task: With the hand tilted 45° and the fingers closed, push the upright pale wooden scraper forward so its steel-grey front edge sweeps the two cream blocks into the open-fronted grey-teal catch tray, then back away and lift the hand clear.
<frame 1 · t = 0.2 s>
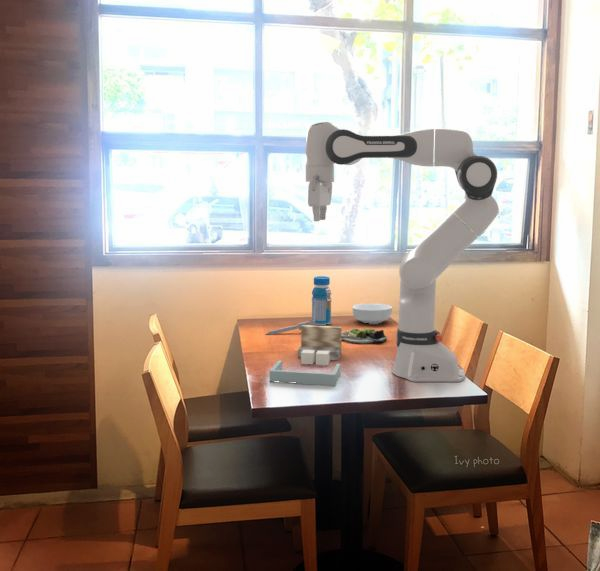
hand: (319, 220, 203), 48 cm above the table, tool pointing down, fingers open, 8 cm apart
cream block 2: (322, 363, 216), on the table
beverage bottle: (321, 324, 276), on the table
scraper: (319, 356, 225), on the table
cereal bowl: (371, 322, 278), on the table
catch tray: (305, 378, 200), on the table
salad plate: (365, 340, 249), on the table
caliper: (290, 334, 258), on the table
cream block 1: (307, 363, 217), on the table
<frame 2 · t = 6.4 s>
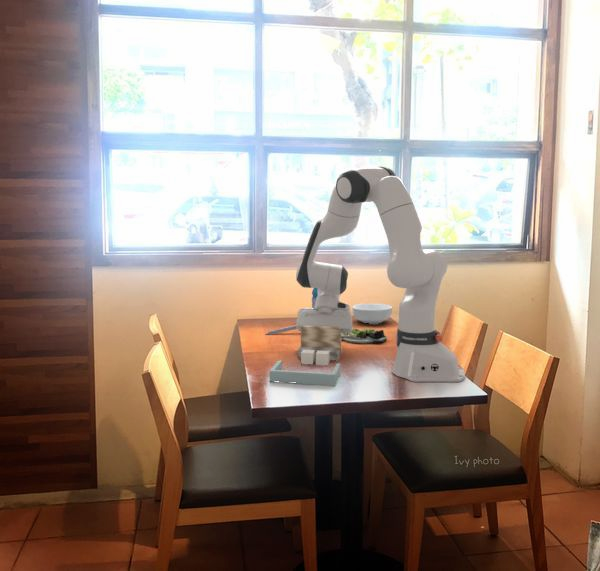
hand: (322, 341, 228), 4 cm above the table, tool tilted 45°, fingers closed, pressing on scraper
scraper: (319, 356, 224), on the table, touching gripper
everything else where it was.
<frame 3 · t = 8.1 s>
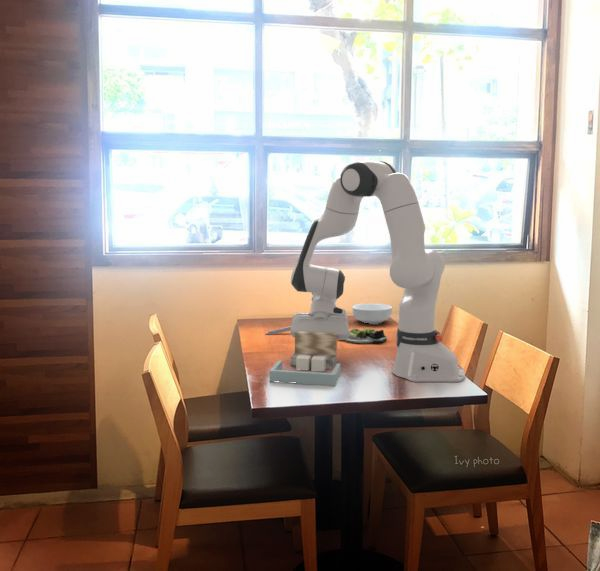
hand: (317, 348, 219), 4 cm above the table, tool tilted 45°, fingers closed, pressing on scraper
cream block 2: (318, 369, 209), on the table
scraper: (314, 364, 215), on the table, touching cream block 1, gripper
cream block 1: (303, 368, 210), on the table, touching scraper
everything else where it was.
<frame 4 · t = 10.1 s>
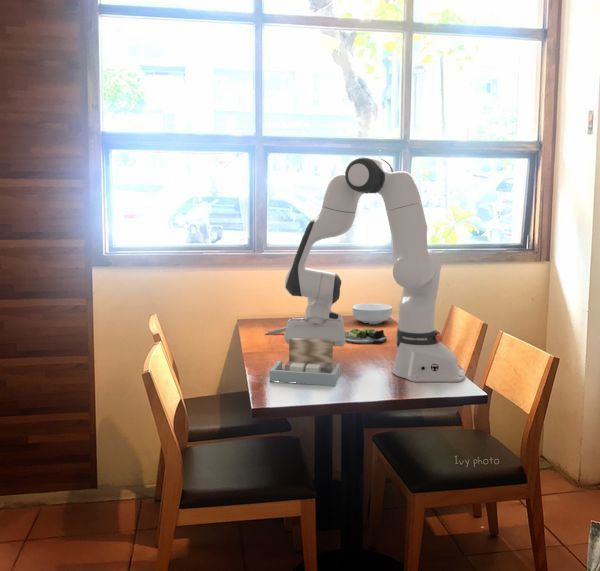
hand: (312, 355, 210), 4 cm above the table, tool tilted 45°, fingers closed
cream block 2: (313, 378, 200), on the table, touching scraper
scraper: (309, 372, 206), on the table, touching cream block 2, gripper
cream block 1: (297, 377, 201), on the table
everything else where it was.
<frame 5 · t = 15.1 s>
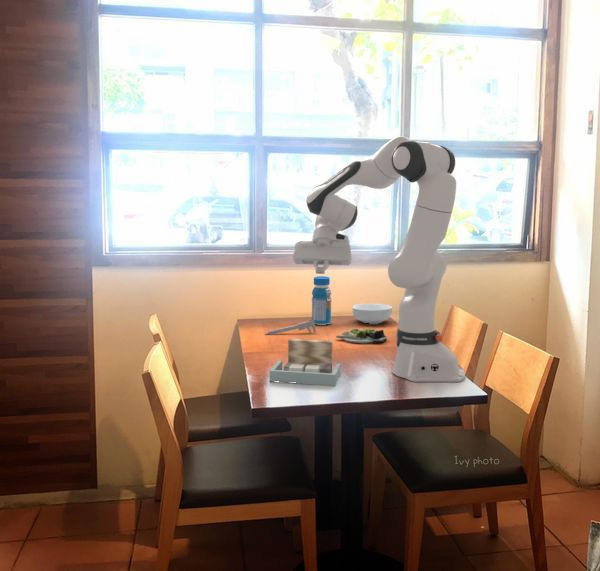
hand: (319, 272, 219), 29 cm above the table, tool tilted 45°, fingers closed
cream block 2: (312, 379, 199), on the table
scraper: (308, 373, 205), on the table
cream block 1: (296, 378, 200), on the table
everything else where it was.
at the end: cream block 2 inside the target area (2.5 cm from its centre), on the table; cream block 1 inside the target area (2.9 cm from its centre), on the table; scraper tilted 0° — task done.
